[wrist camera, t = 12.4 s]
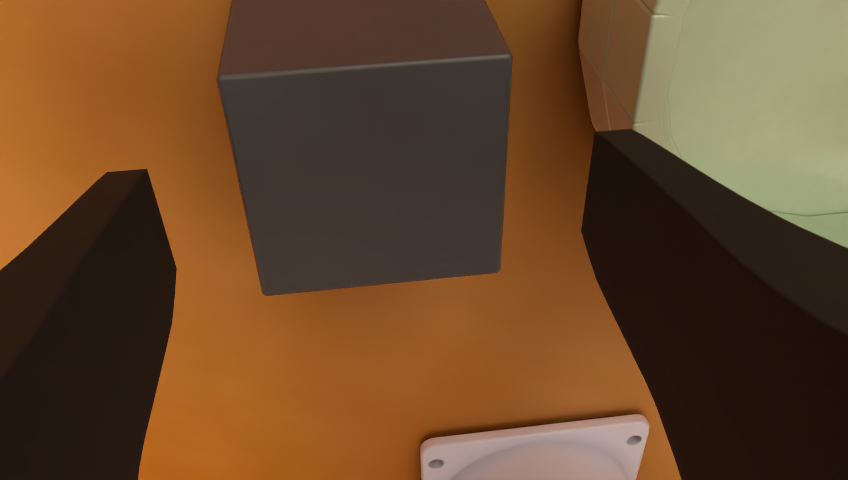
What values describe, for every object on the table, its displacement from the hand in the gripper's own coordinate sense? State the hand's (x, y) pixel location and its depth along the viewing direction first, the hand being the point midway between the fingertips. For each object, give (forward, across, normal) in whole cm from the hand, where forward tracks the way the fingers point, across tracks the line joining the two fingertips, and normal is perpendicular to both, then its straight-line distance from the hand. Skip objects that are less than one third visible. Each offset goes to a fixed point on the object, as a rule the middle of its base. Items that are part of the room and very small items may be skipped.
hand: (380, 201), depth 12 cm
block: (+6, 0, 0) cm, 6 cm away
